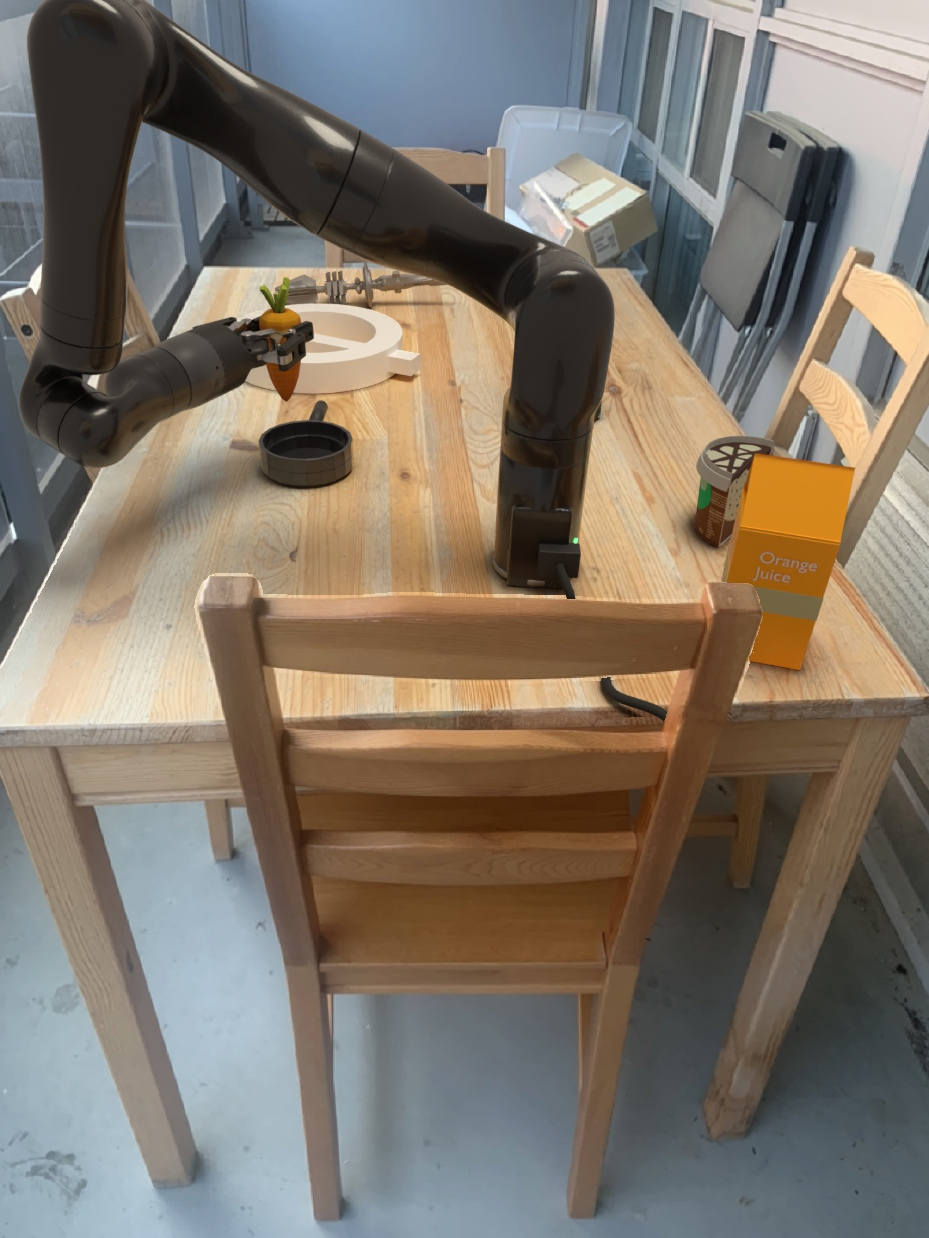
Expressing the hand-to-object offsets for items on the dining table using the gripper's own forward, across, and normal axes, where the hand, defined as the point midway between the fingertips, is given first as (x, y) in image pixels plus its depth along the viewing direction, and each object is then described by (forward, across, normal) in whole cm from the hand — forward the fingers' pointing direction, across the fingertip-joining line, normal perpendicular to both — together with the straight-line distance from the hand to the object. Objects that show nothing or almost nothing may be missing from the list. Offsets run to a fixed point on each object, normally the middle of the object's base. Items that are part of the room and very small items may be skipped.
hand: (291, 325), depth 112 cm
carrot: (-2, 0, +9) cm, 9 cm away
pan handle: (+6, +2, +15) cm, 17 cm away
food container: (+12, -52, +18) cm, 57 cm away
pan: (-2, -2, +18) cm, 18 cm away
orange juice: (-8, -63, +18) cm, 66 cm away
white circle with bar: (+29, +19, +18) cm, 39 cm away
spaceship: (+57, +27, +17) cm, 66 cm away
